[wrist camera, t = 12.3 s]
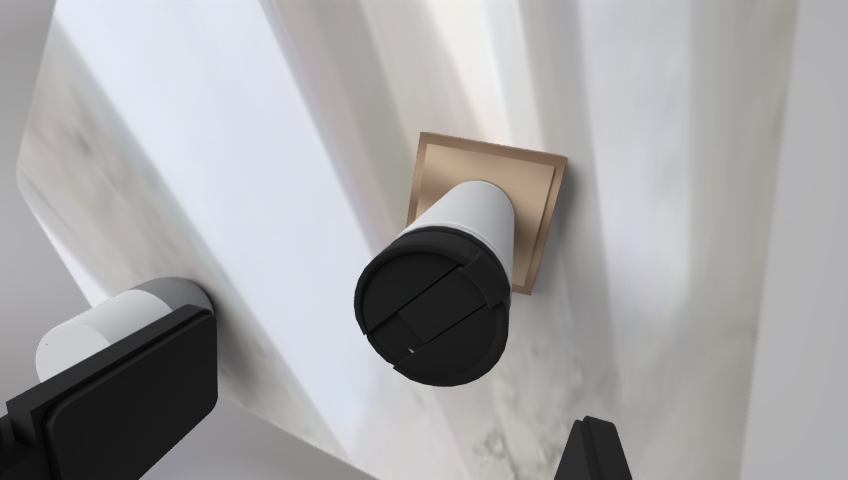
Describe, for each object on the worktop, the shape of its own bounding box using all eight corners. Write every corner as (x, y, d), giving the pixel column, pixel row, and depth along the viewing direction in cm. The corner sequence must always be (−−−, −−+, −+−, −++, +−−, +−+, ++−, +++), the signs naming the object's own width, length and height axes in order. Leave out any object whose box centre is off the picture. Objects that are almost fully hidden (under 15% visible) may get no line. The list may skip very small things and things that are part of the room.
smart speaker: (234, 301, 46) (119, 369, 32) (208, 354, 49) (94, 436, 36) (170, 255, 46) (31, 304, 33) (148, 311, 49) (13, 376, 36)
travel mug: (533, 218, 32) (556, 343, 13) (472, 264, 34) (416, 427, 15) (485, 160, 32) (437, 202, 13) (426, 210, 34) (311, 309, 15)
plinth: (428, 132, 35) (419, 132, 32) (563, 155, 33) (567, 158, 30) (409, 254, 39) (399, 265, 36) (529, 283, 37) (530, 296, 34)
